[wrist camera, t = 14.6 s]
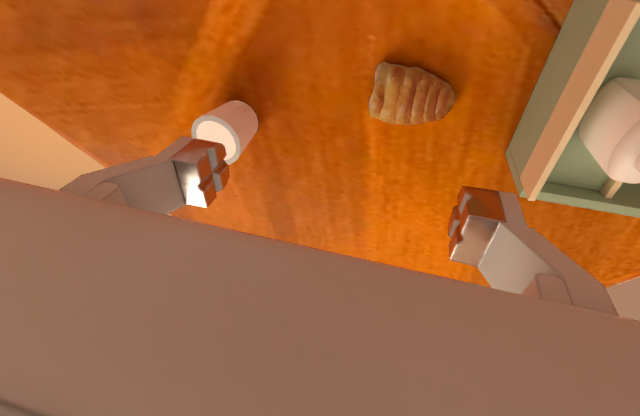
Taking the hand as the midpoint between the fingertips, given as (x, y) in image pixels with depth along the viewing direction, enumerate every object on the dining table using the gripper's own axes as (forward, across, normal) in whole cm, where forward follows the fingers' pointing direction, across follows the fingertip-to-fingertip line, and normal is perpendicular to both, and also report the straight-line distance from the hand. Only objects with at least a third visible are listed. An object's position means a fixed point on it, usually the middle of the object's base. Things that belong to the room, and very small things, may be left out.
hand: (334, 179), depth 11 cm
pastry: (+31, -2, +7) cm, 32 cm away
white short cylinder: (+31, +20, +14) cm, 39 cm away
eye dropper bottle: (+24, -19, +4) cm, 31 cm away
